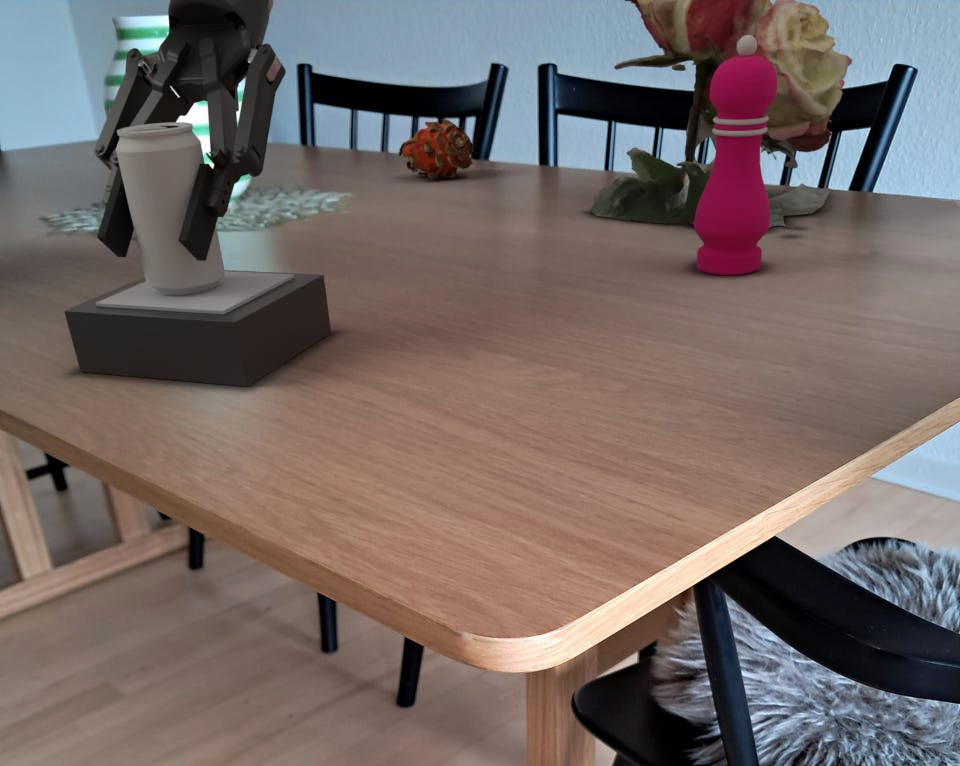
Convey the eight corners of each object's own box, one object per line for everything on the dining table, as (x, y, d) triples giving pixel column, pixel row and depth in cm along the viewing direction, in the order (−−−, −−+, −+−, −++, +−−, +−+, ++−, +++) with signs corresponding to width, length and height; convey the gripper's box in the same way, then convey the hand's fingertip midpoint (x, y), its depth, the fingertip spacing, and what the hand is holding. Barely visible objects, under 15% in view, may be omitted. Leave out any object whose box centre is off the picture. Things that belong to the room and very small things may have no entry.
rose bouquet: (797, 238, 110) (838, -104, 93) (571, 216, 125) (571, -81, 108) (879, 196, 126) (927, -101, 110) (671, 181, 141) (684, -81, 125)
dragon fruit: (479, 190, 151) (407, 201, 156) (488, 146, 154) (417, 159, 159) (458, 145, 144) (384, 158, 149) (468, 100, 147) (394, 115, 151)
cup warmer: (68, 370, 83) (50, 305, 80) (168, 322, 94) (155, 263, 91) (247, 386, 78) (235, 317, 75) (331, 333, 89) (323, 270, 86)
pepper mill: (727, 280, 97) (748, 38, 86) (676, 267, 102) (689, 37, 91) (780, 267, 100) (807, 32, 89) (728, 255, 105) (747, 31, 94)
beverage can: (241, 284, 83) (213, 122, 77) (173, 302, 80) (137, 133, 73) (201, 273, 87) (170, 118, 80) (133, 289, 83) (96, 128, 77)
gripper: (352, 25, 82) (284, 280, 79) (151, 33, 89) (79, 270, 85) (312, -54, 75) (235, 223, 72) (97, -39, 82) (16, 217, 78)
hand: (151, 248), depth 78 cm, fingers open, 7 cm apart
